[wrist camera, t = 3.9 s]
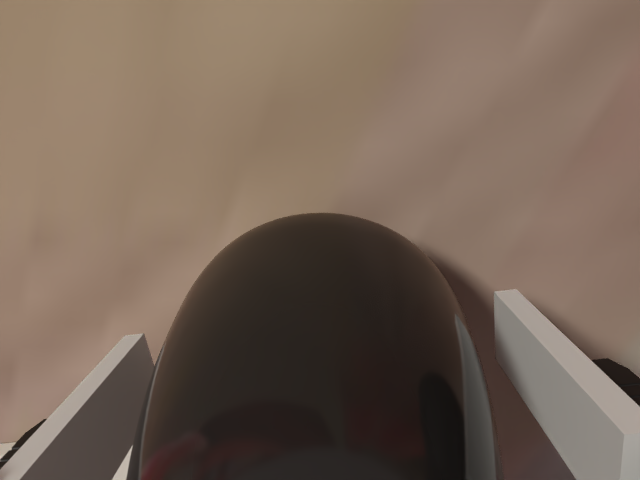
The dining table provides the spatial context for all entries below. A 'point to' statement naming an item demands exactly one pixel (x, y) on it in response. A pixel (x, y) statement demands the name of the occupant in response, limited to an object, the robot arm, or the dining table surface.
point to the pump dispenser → (318, 365)
